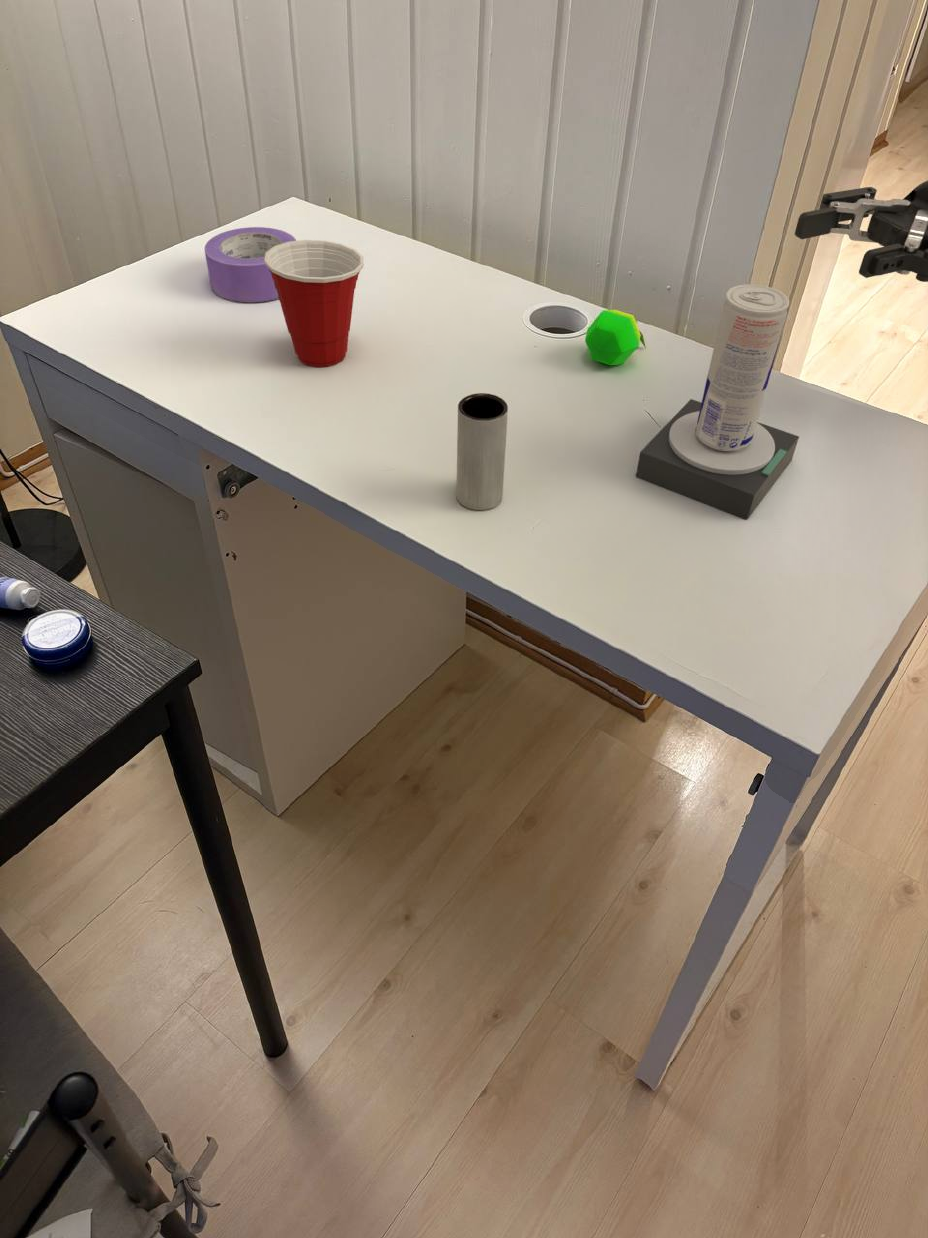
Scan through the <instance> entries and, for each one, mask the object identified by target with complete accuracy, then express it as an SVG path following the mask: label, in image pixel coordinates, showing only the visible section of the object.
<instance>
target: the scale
mask: <svg viewBox="0 0 928 1238" xmlns="http://www.w3.org/2000/svg"><path fill="white" fill-rule="evenodd" d="M701 403H702V401H698V400H696V399H693V398H691V399H689V400H688V401H687V402H686V403H685V405H684V406H683V407H681V409H679V411H678V412H676V414H675V415H674V416H673V417H672V418H671V419H670V420H669V421H668V422H667V423H666V424H665V425H664V426H663V428H662V429H660V431H659V432H657V434H656V435H654V437H653V438H652V439H651V440H650V441H649V442H648V443H647V444H646V445H645V446H644V447H643V449H642V450H640V452H639V455H638V461H637V467H636V473H635V477H637V478H639V479H640V480H641V479H642V480H644V481H647V482H649V483H652V484H655V485H656V486H659V487H662V488H664V489H667V490H670V491H672V492H675V493H677V494H680V495H682V496H685V497H688V498H690V499H693V500H695V501H698V502H701V503H702V504H705V505H708V506H710V507H713V508H716V509H718V510H721V511H723V512H726V513H729V514H732V515H733V516H736V517H739V518H741V519H744V520H746V521H747V520H748V519H749V518H750V517H751V516H752V514H753V513H754V512H755V510H756V509H757V508H758V506H759V505H760V504H761V502H762V501H763V499H764V498H765V497H766V496H767V494H768V493H769V491H770V490H771V489H772V488H773V486H774V485H775V483H776V482H777V481H778V480H779V478H781V476H782V474H783V473H784V472H785V470H786V469H787V468H788V466H789V465H790V463H791V462H792V461H793V459H794V454H795V451H796V448H797V445H798V442H799V439H800V436H799V435H796V434H793V433H791V432H787V431H785V430H781V429H779V428H776V427H773V426H770V425H767V424H764V423H763V422H759V421H757V425H756V428H755V432H754V435H753V440H752V442H751V444H750V445H749V446H747V447H745V448H743V449H741V450H737V451H721V450H717V449H714V448H711V447H709V446H707V445H705V444H704V443H703V442H702V441H701V440H699V438H698V437H697V435H696V432H695V430H696V425H697V421H698V416H699V412H700V407H701Z"/></svg>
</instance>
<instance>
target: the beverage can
mask: <svg viewBox="0 0 928 1238" xmlns="http://www.w3.org/2000/svg"><path fill="white" fill-rule="evenodd" d="M789 307H790V299H789V297H788V296H787V295H786V294H785V293H783V292H782V291H780V290H778V289H776V288H774V287H771V286H766V285H760V284H752V283H751V284H749V283H748V284H747V283H746V284H740V285H735V286H732V287H730V288H729V289H728V290H727V291H726V293H725V299H724V302H723V305H722V310H721V314H720V319H719V324H718V327H717V333H716V336H715V341H714V346H713V350H712V354H711V358H710V363H709V367H708V372H707V377H706V380H705V381H706V382H705V385H704V390H703V394H702V398H701V407H700V412H699V416H698V421H697V425H696V430H695V432H696V435H697V437H698V438H699V440H701V441H702V442H703V443H704V444H705V445H707V446H709V447H711V448H714V449H717V450H721V451H737V450H741V449H743V448H745V447H747V446H749V445H750V444H751V442H752V440H753V435H754V432H755V428H756V425H757V422H759V421H758V420H759V417H760V413H761V409H762V407H763V406H762V405H763V402H764V399H765V395H766V392H767V389H768V384H769V381H770V377H771V373H772V371H773V366H774V362H775V360H776V355H777V352H778V349H779V345H780V341H781V337H782V335H783V330H784V326H785V323H786V320H787V316H788V308H789Z"/></svg>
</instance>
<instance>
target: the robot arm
mask: <svg viewBox="0 0 928 1238" xmlns="http://www.w3.org/2000/svg"><path fill="white" fill-rule="evenodd" d="M877 191H878V189H877V188H874V187H873V186H868V187H867V186H866V187H859V188H853V189H847V190H841V191H834V192H828V193H824V194H823V195H822V196H821V201H820V204H819V208H818V209H814V210H809V211H804V212H802V213H800V215H799V217H798V219H797V223H796V227H795V231H794V236H795V237H797V238H798V239H800V240H806V239H810V238H815V237H820V236H825V235H829V234H839V235H846V236H848V238H849V240H850V241H855V242H865V243H875V244H878V245H879V246H880V247H876V248H872V249H868V250H867V251H866V252H864V254H863V257H862V260H861V263H860V265H859V269H858V274H859V275H860V276H862V277H864V278H865V279H868V278H872V277H876V276H877V277H879V276H883V275H888V274H892V273H897V274H899V275H905V276H906V275H909V274H911V273H914V274H916V275H915V280H917V281H919V282H922V283H928V180H925V181H923V182H922V183H920V184H918V185H917V186H916V187H914V188H913V189H912V190H911V191H909V193H908V194H907V195H905V196H904V197H903V198H902V199H901V198H892V199H890V200H888V199H887V200H883V199H882V200H881V199H876V194H877ZM869 216H870V220H869V222H868V226H867V229H866V230H861V226H862V223H863V220H864V219H867V218H869ZM848 221H850V222H849V223H847V224H846V223H842V222H848Z"/></svg>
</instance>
